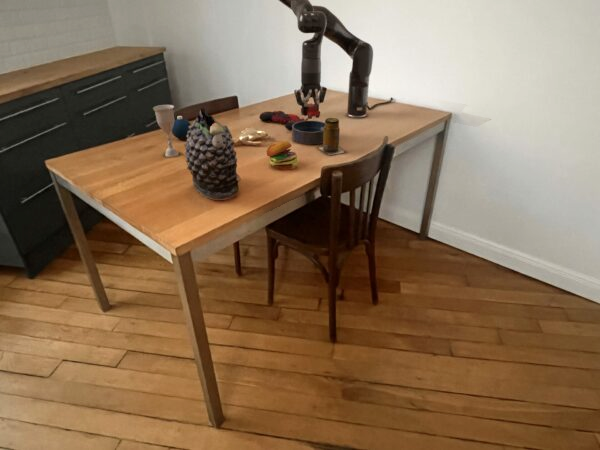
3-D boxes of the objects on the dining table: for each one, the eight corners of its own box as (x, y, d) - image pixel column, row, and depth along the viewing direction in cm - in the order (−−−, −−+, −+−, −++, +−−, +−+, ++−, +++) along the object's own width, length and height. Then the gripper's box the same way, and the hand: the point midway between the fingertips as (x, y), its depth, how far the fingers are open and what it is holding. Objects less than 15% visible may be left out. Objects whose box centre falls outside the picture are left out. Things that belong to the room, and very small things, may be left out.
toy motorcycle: (294, 135, 176) (318, 122, 184) (292, 124, 173) (317, 111, 181) (257, 124, 191) (281, 112, 200) (255, 114, 188) (280, 102, 196)
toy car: (300, 114, 166) (300, 103, 164) (310, 113, 168) (310, 102, 166) (310, 119, 160) (310, 108, 158) (320, 118, 162) (320, 107, 160)
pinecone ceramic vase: (252, 195, 126) (246, 116, 113) (207, 209, 119) (195, 126, 106) (222, 172, 141) (214, 100, 128) (180, 183, 133) (167, 107, 120)
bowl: (303, 130, 178) (304, 118, 175) (334, 136, 172) (335, 124, 169) (285, 141, 167) (284, 128, 164) (317, 148, 160) (317, 134, 158)
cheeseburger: (289, 173, 140) (282, 145, 135) (265, 174, 146) (258, 147, 141) (304, 163, 147) (298, 136, 143) (280, 164, 153) (274, 138, 149)
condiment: (334, 145, 163) (335, 116, 157) (345, 152, 156) (347, 122, 150) (318, 148, 160) (318, 118, 154) (328, 155, 154) (329, 124, 147)
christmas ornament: (188, 142, 166) (184, 118, 160) (169, 141, 167) (165, 117, 162) (196, 135, 173) (193, 112, 167) (178, 134, 174) (174, 111, 169)
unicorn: (246, 141, 154) (214, 136, 163) (247, 151, 156) (216, 145, 165) (278, 127, 168) (248, 122, 177) (279, 136, 170) (249, 131, 179)
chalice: (164, 159, 151) (154, 111, 141) (160, 153, 156) (151, 106, 147) (183, 155, 154) (175, 108, 144) (179, 149, 159) (171, 103, 149)
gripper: (299, 73, 149) (299, 119, 158) (332, 70, 155) (330, 114, 164) (290, 70, 155) (290, 114, 164) (321, 66, 161) (320, 109, 170)
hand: (310, 114), depth 164 cm, fingers closed on toy car, 4 cm apart
